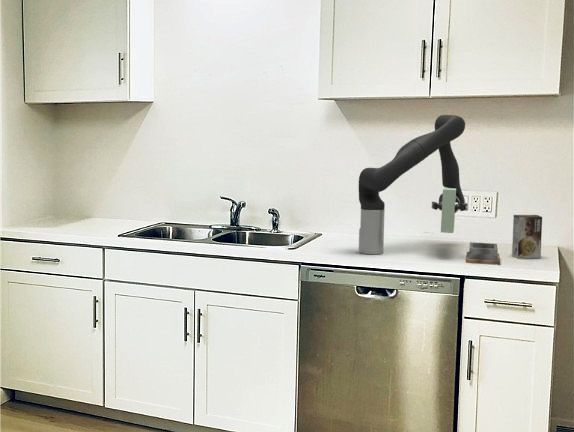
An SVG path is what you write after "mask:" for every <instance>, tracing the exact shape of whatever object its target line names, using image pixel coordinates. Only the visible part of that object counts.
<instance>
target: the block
mask: <svg viewBox="0 0 574 432" xmlns="http://www.w3.org/2000/svg"><path fill="white" fill-rule="evenodd" d="M442 193H443V198H442V211H441V221H440V233H447V234H454V231H455V219H456V218H455V217H456V216H455V215H456V213H455V211H454V210H455V201H456V189H455V188H446V187H444V188H443V189H442Z"/></svg>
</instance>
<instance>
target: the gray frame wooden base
mask: <svg viewBox="0 0 574 432" xmlns="http://www.w3.org/2000/svg"><path fill="white" fill-rule="evenodd" d="M498 248H499V247H498V244H497V243H491V242H472V241H471V242H469V249H468V251H466V253H465V254H466V255H465V263H466V264H482V265H496V264H497V265H498V266H500V265H501V257H500V253H499V251H498V250H499V249H498ZM497 265H496V266H497Z"/></svg>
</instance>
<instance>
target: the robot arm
mask: <svg viewBox="0 0 574 432" xmlns="http://www.w3.org/2000/svg"><path fill="white" fill-rule="evenodd" d="M465 129H466V121H465V119H464V118H463V117H461V116H459V115H455V114H454V115H453V114H441V115H439V116H438V117H437V118H436V119H435V122H434V131H431V132H428V133H426V134H423V135H420V136H417V137H415V138H413V139H411V140H409V141H408V142H407V143H405V144H404V145H403V146H401V147H400V148H399V150H397V152H396V154H395V155H394V158H393V159H392V160H391V161H389V162H387V163H386V164H385V165H382V166H381V167H366V168H364V169H362V171H361V172H360V174H359V177H358V201H359V203H360V221H359V222H360V223H359V224H360V226H359V227H360V228H359V230H358V254H364V255H382V254H384V248H385V247H384V244H385V243H384V239H385V237H384V236H385V212H386V211H385V202H384V201H383V200H382V199H381V197H380V192H383V191H385V190H387V189H388V188H389V187H391V185H392V184H393V183H395V181H396V180H398V179H399V178H400V177H401V176H403V175H404V174H405V173H406V172H409V170H411V169H413V168H414V167H416V166H417V165H418V164H420V163H421V162H422V161H424V160H425V159H427V158H428V157H429V156H430V155H432V154H434V153H435V152H436V151H438V152H439V157H440V163H441V165H440V166H441V182H442V187H444V188H455V189H456V201H455V210H454V211H455V214H456V213H457V212H459V210H460V212H464V211H468V203H467V202H466V200H465V197H464V194H463V191H462V187H461V181H460V167H459V163H458V161H457V158H456V156H455V154H454V152H453V149H452V145H451V142H452V141H454V140H456V139H457V138H459V137H461V136H462V135H463V133H464V131H465ZM442 198H443V192H442V193H441V194H440V195H439V197H438V202H436V201H431V209H433V210H436V211H437V210H439V211H441V212H442Z"/></svg>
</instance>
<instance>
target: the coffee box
mask: <svg viewBox="0 0 574 432" xmlns="http://www.w3.org/2000/svg"><path fill="white" fill-rule="evenodd" d="M512 221H513V222H512V223H513V224H512V242H511V243H512V245H511V247H512V249H511V256H512V257H514V258H516V259H541V257H542V232H543V231H542V230H543V216H541V215H538V214H513V220H512Z"/></svg>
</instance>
